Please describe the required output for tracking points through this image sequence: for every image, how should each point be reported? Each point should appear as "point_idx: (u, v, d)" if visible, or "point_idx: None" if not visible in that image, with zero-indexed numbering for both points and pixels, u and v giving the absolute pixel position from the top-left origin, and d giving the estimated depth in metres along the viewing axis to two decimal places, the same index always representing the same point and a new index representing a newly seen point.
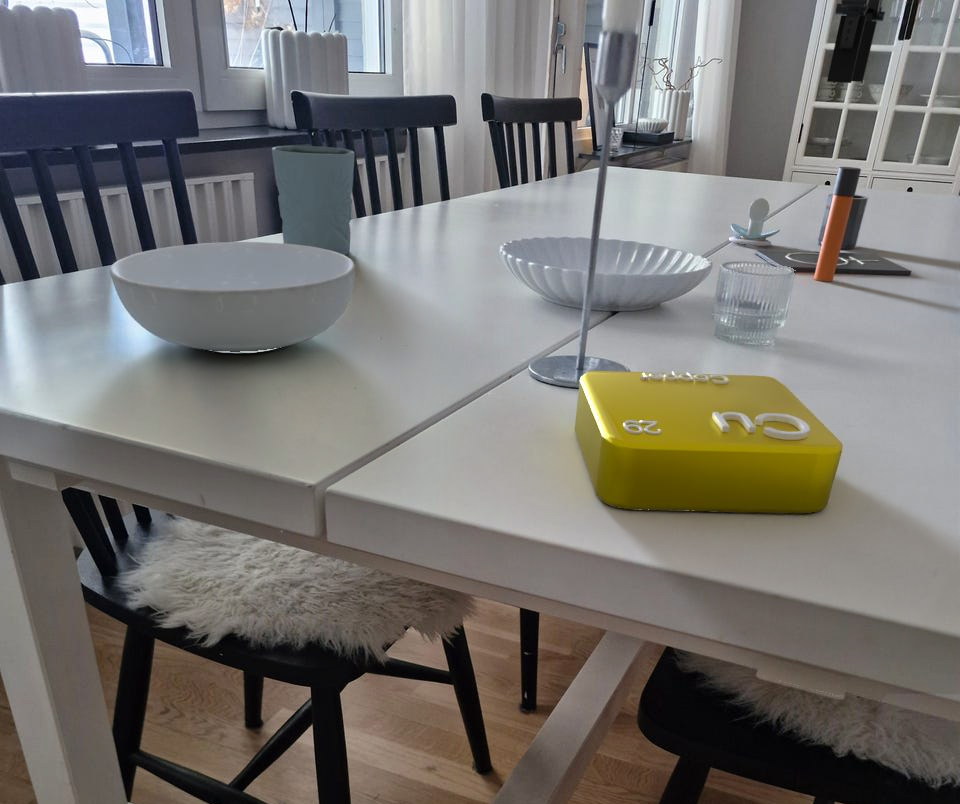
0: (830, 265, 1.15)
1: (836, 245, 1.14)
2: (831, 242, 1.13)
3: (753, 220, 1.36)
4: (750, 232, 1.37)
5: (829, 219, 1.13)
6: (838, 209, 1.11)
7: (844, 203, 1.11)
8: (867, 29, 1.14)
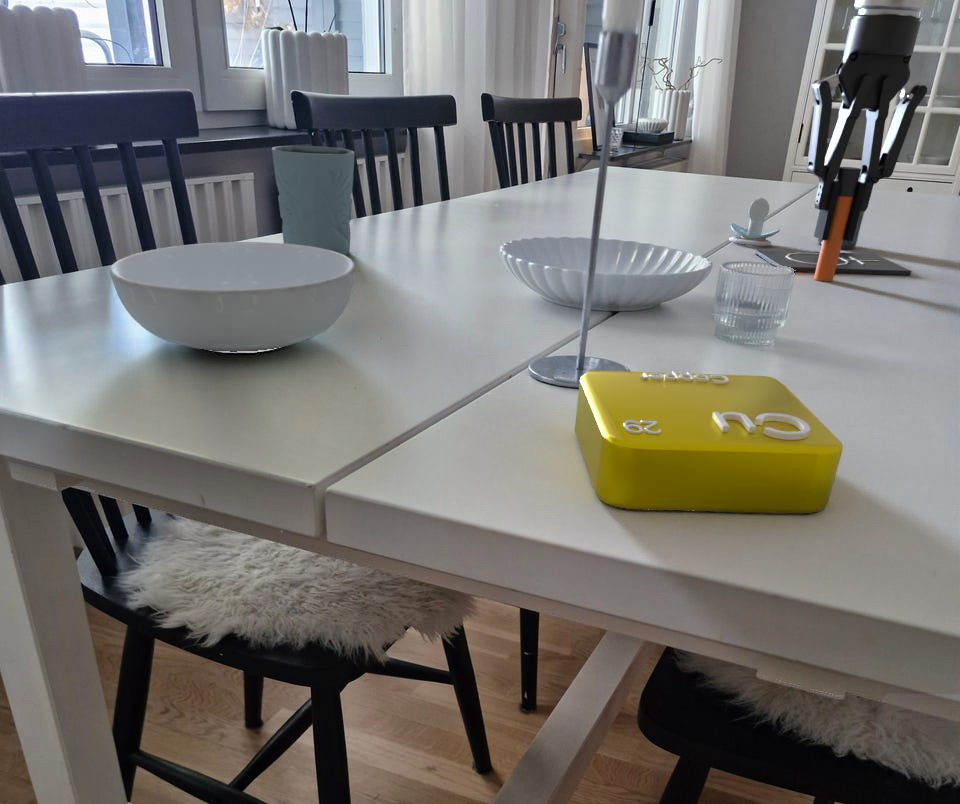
0: (830, 265, 1.15)
1: (836, 245, 1.14)
2: (831, 242, 1.13)
3: (753, 220, 1.36)
4: (750, 232, 1.37)
5: None
6: (838, 209, 1.11)
7: (844, 203, 1.11)
8: (856, 190, 1.11)
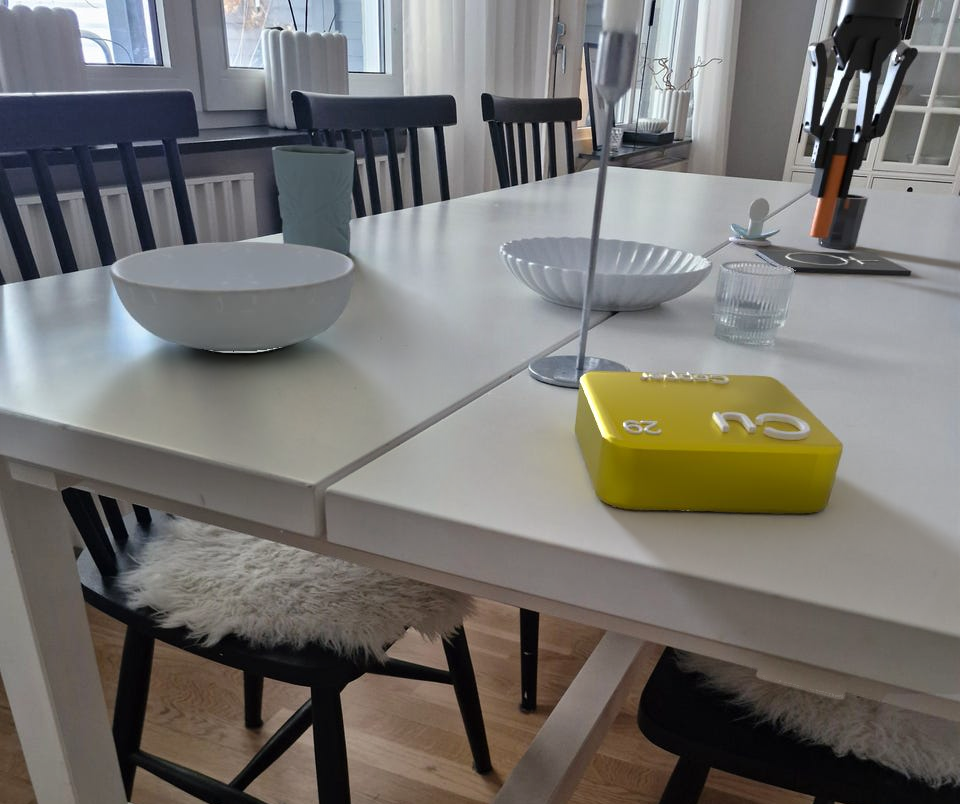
0: (825, 222, 1.20)
1: (831, 203, 1.19)
2: (826, 200, 1.19)
3: (753, 220, 1.36)
4: (750, 232, 1.37)
5: None
6: (833, 167, 1.17)
7: (839, 162, 1.16)
8: (850, 150, 1.16)
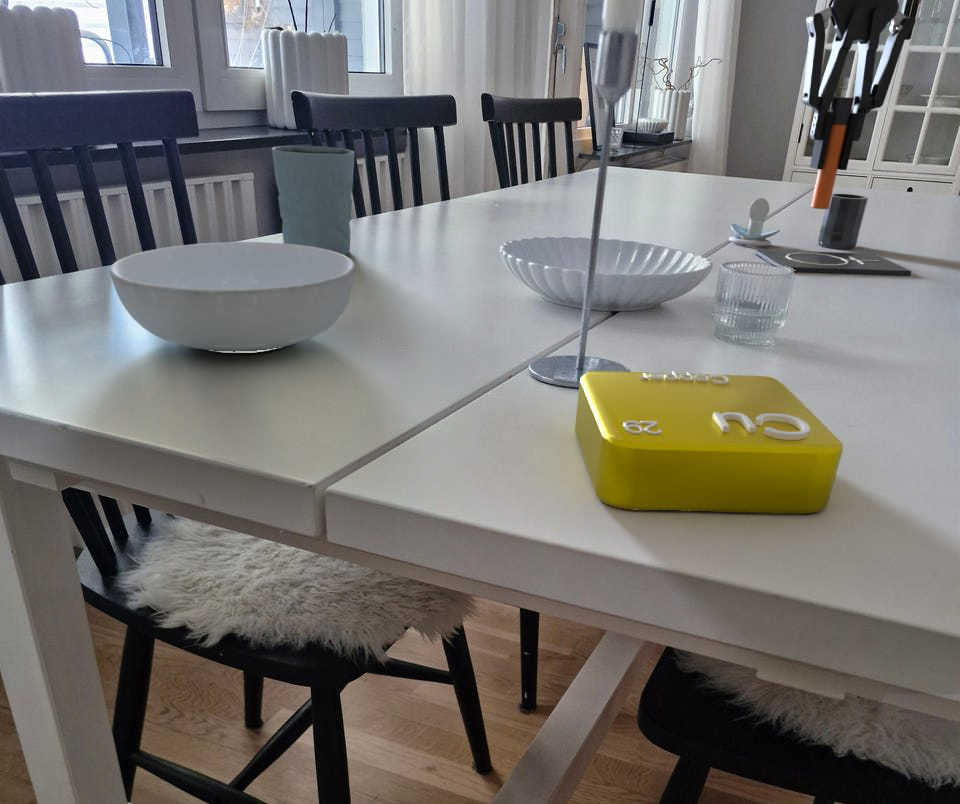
0: (826, 192, 1.21)
1: (832, 173, 1.20)
2: (826, 170, 1.19)
3: (753, 220, 1.36)
4: (750, 232, 1.37)
5: None
6: (833, 137, 1.17)
7: (838, 131, 1.17)
8: (849, 121, 1.17)
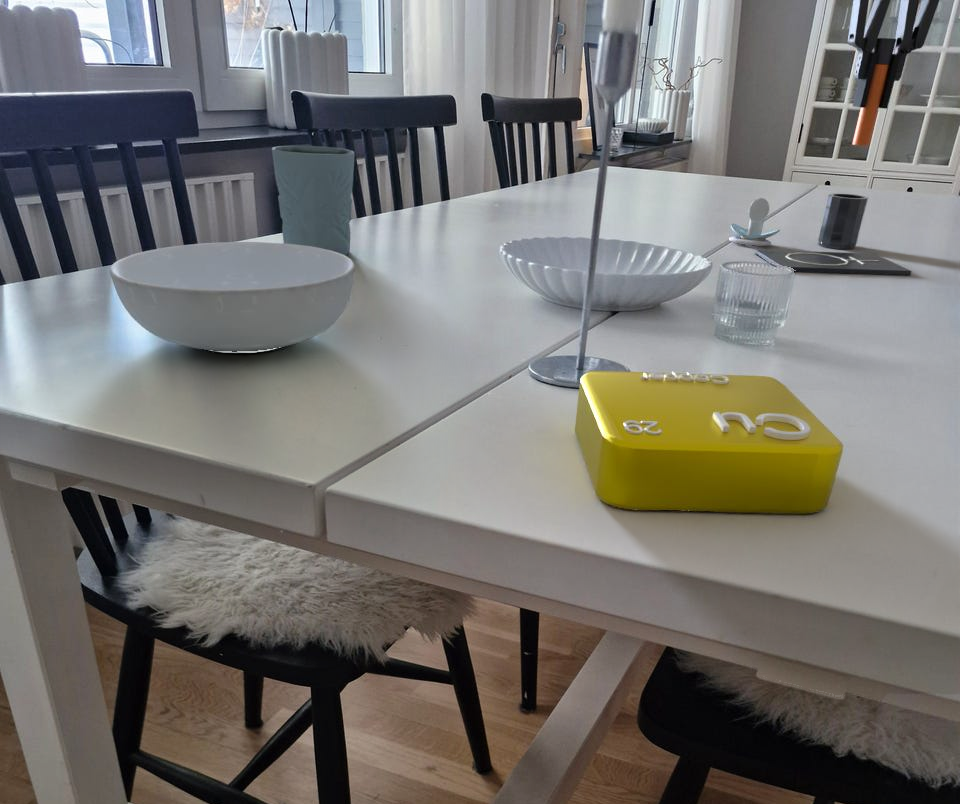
0: (867, 130, 1.29)
1: (873, 111, 1.28)
2: (869, 108, 1.28)
3: (753, 220, 1.36)
4: (750, 232, 1.37)
5: None
6: (875, 76, 1.26)
7: (881, 71, 1.25)
8: (891, 61, 1.25)
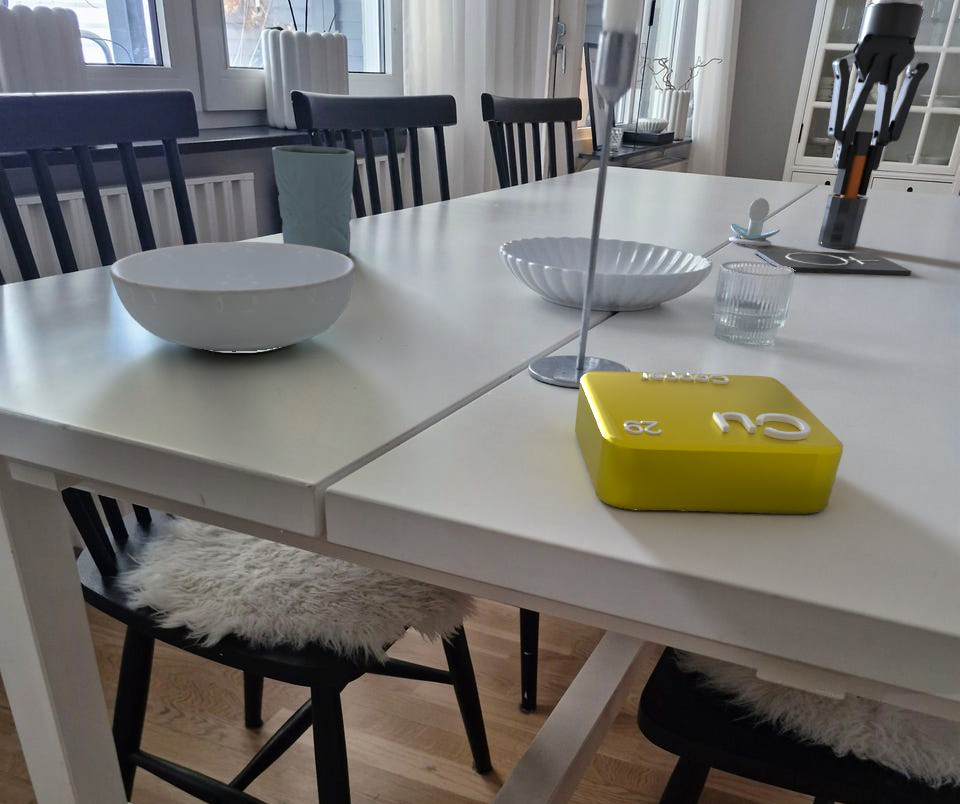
0: None
1: None
2: (848, 195, 1.34)
3: (753, 220, 1.36)
4: (750, 232, 1.37)
5: None
6: (854, 166, 1.32)
7: (859, 161, 1.31)
8: (869, 152, 1.31)
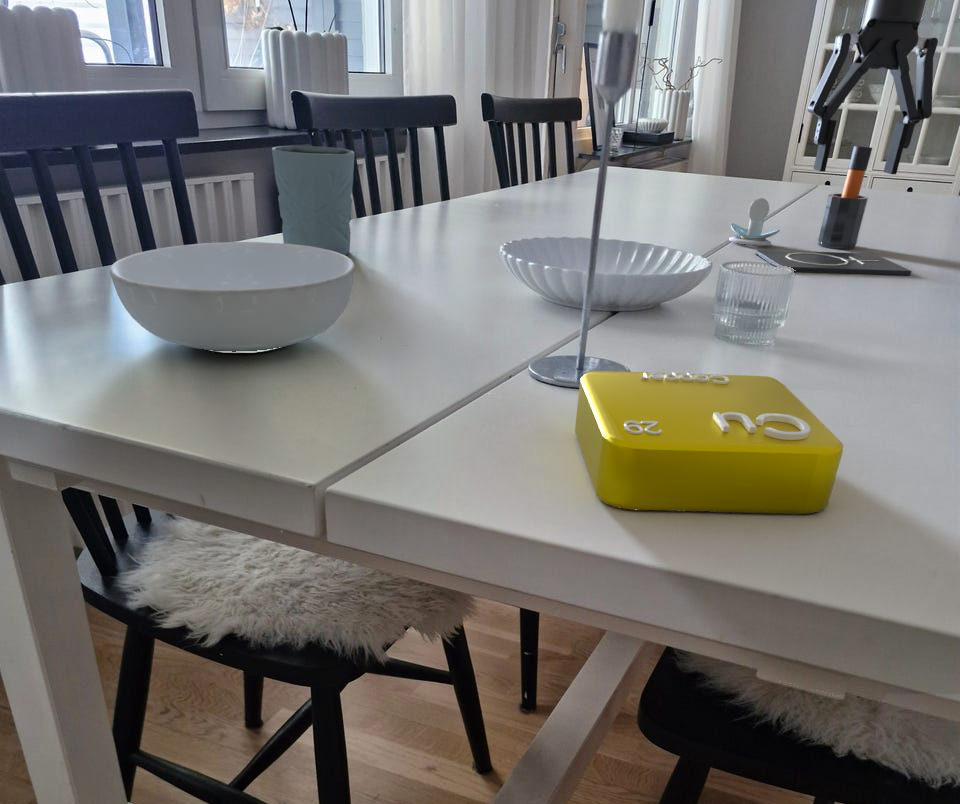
0: None
1: None
2: None
3: (753, 220, 1.36)
4: (750, 232, 1.37)
5: (844, 189, 1.34)
6: (852, 181, 1.33)
7: (857, 176, 1.33)
8: (900, 130, 1.30)
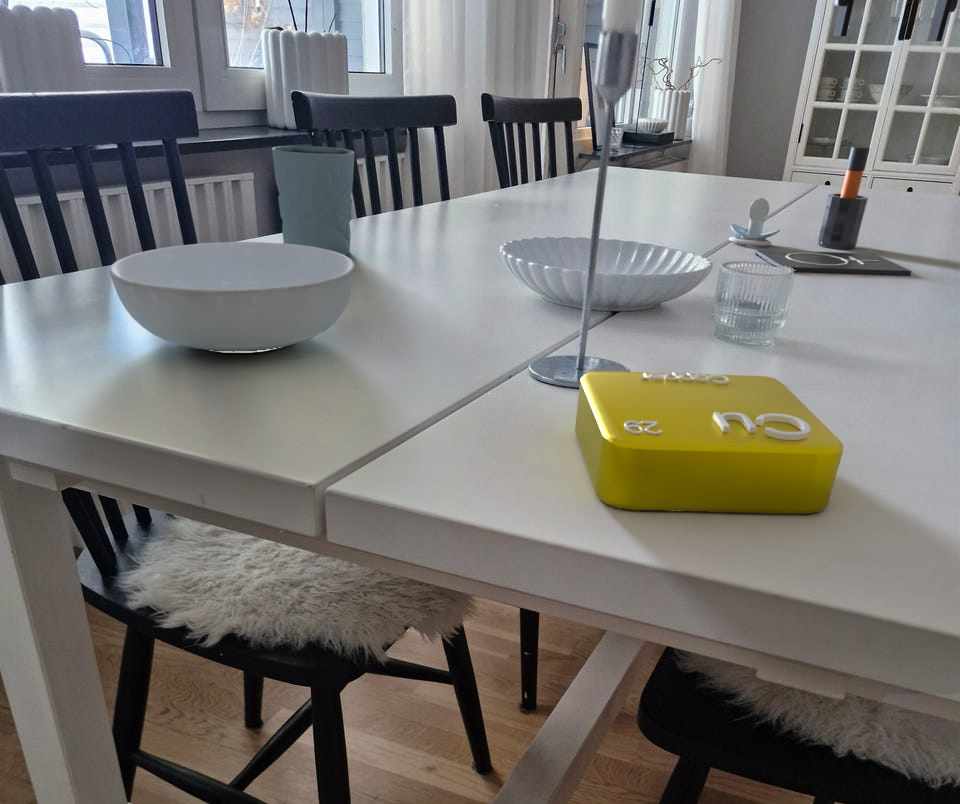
0: None
1: None
2: None
3: (753, 220, 1.36)
4: (750, 232, 1.37)
5: (843, 190, 1.34)
6: (850, 182, 1.33)
7: (855, 177, 1.32)
8: None
